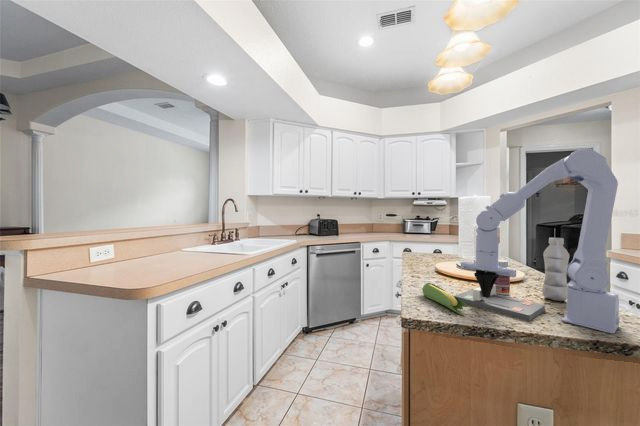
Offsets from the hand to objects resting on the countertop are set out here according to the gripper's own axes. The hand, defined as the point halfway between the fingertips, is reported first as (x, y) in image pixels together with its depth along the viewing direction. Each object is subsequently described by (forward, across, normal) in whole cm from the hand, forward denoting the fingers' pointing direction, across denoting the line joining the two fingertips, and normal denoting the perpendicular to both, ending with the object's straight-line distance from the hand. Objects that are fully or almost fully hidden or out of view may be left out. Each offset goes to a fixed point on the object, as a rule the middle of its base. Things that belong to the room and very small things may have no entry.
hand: (486, 296), depth 83 cm
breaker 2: (+1, -2, +8) cm, 8 cm away
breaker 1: (+1, -2, 0) cm, 2 cm away
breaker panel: (+3, +2, +4) cm, 5 cm away
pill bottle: (+3, -4, +19) cm, 20 cm away
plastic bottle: (+3, +10, +25) cm, 27 cm away
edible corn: (+3, -9, -8) cm, 13 cm away
